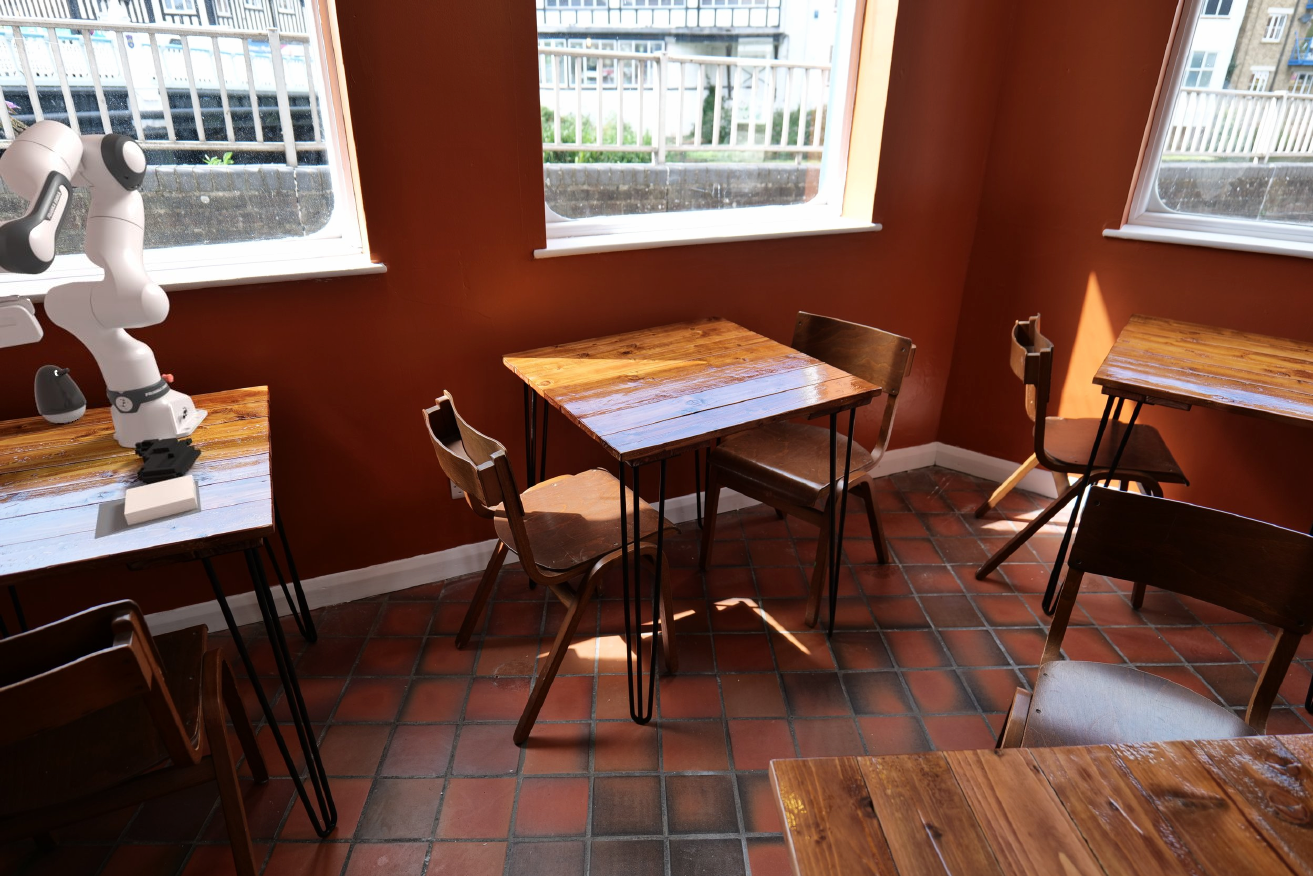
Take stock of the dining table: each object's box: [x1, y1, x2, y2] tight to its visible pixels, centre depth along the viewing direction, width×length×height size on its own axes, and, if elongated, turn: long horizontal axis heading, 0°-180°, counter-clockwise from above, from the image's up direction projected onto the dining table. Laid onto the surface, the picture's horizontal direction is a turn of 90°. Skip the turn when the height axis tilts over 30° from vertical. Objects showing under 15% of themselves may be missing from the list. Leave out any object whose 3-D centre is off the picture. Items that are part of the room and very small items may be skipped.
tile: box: [124, 474, 198, 525], centre depth 155 cm, size 3×12×12 cm
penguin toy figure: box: [34, 364, 87, 424], centre depth 196 cm, size 10×10×15 cm
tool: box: [134, 437, 202, 485], centre depth 169 cm, size 5×20×15 cm
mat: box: [94, 480, 202, 540], centre depth 154 cm, size 18×16×1 cm
